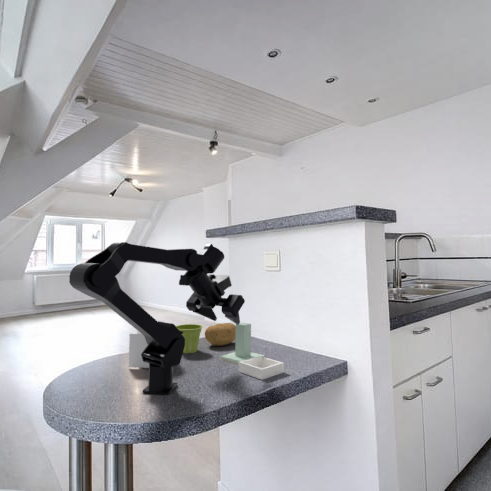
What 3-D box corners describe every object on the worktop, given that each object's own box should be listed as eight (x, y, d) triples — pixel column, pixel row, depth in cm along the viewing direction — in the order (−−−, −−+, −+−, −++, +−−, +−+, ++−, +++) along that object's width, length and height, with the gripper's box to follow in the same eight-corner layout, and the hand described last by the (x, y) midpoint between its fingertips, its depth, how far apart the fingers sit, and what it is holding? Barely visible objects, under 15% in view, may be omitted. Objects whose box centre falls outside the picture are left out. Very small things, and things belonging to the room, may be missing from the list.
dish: (261, 381, 87) (261, 369, 87) (238, 372, 93) (238, 362, 93) (283, 373, 93) (283, 362, 93) (260, 366, 99) (260, 356, 100)
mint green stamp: (245, 365, 98) (246, 328, 99) (220, 359, 105) (221, 324, 105) (264, 358, 106) (265, 323, 107) (240, 353, 113) (241, 320, 113)
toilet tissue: (178, 360, 105) (179, 328, 106) (159, 371, 93) (160, 335, 94) (148, 357, 108) (149, 326, 108) (126, 368, 96) (127, 333, 97)
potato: (197, 346, 123) (198, 324, 123) (226, 340, 132) (227, 320, 133) (213, 351, 116) (214, 328, 116) (243, 345, 125) (243, 323, 126)
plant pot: (196, 356, 109) (197, 329, 110) (169, 354, 111) (170, 328, 111) (205, 349, 118) (206, 324, 119) (180, 347, 120) (181, 323, 121)
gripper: (241, 265, 91) (263, 303, 99) (194, 265, 103) (217, 299, 111) (221, 296, 85) (246, 334, 92) (173, 291, 96) (199, 325, 104)
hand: (227, 321), depth 100 cm, fingers open, 9 cm apart
